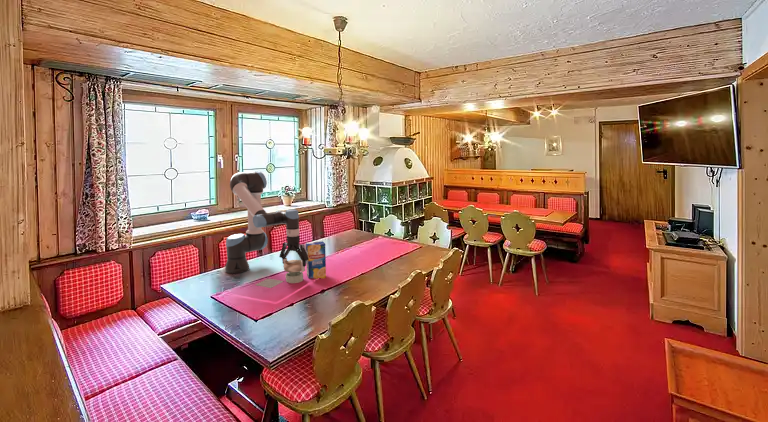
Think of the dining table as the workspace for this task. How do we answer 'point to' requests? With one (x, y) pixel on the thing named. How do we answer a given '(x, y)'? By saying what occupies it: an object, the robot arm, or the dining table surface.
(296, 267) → the lid
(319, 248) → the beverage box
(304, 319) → the dining table surface
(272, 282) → the mat
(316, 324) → the dining table surface
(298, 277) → the bowl
